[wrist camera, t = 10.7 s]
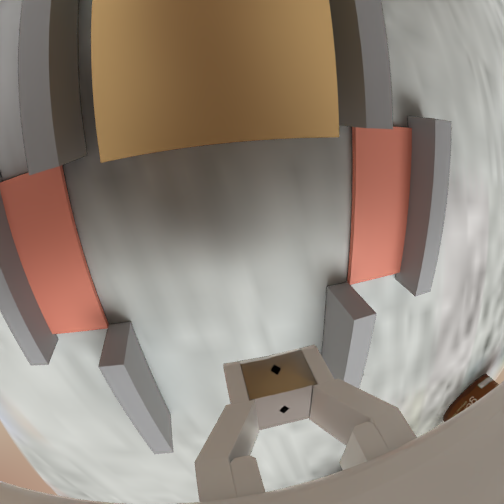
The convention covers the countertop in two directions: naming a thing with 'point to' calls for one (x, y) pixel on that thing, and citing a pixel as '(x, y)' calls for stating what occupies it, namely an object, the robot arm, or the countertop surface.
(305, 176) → the countertop surface
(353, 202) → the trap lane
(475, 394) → the food container
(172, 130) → the honey block
